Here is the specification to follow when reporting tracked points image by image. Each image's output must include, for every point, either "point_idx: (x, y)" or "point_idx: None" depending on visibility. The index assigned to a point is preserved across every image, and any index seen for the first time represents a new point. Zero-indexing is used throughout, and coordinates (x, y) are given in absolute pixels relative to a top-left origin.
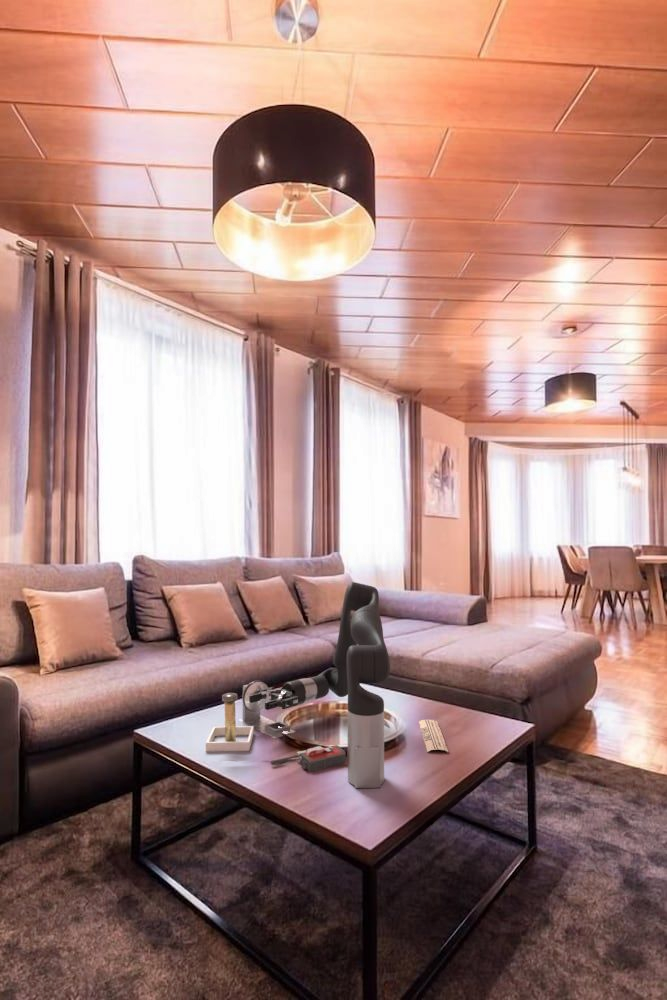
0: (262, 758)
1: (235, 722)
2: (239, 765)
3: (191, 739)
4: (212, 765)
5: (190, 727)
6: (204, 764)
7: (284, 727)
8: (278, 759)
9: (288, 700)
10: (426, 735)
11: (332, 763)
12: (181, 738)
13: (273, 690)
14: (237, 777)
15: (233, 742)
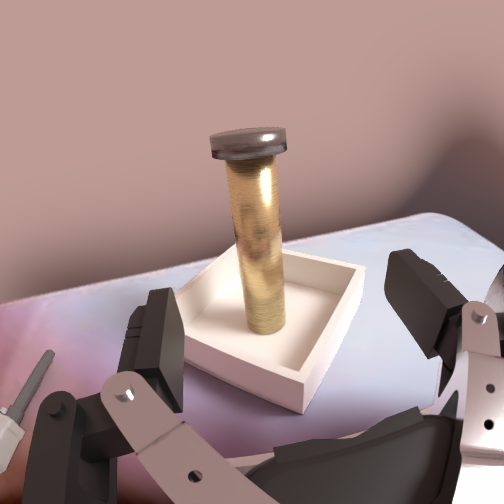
0: (109, 367)
1: (248, 262)
2: (128, 310)
3: (375, 262)
4: (180, 272)
5: (463, 269)
6: (198, 263)
7: None
8: (38, 364)
9: (33, 455)
10: None
11: None
12: (389, 249)
13: (479, 425)
14: (90, 292)
15: (186, 284)
